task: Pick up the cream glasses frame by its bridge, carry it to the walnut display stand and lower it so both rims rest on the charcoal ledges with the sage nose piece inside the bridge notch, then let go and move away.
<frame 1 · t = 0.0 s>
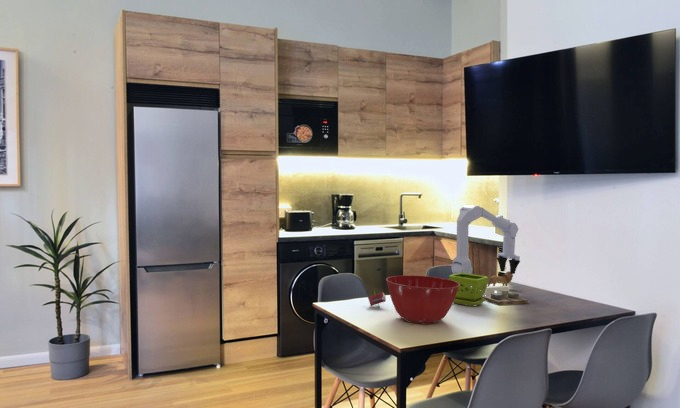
hand: (507, 272, 281), 10 cm above the table, tool pointing down, fingers open, 7 cm apart
display stand: (504, 301, 258), on the table
flower pot: (467, 304, 250), on the table
mixing bowl: (420, 320, 216), on the table
geometric puzzle: (376, 306, 237), on the table
lion figurine: (499, 288, 292), on the table
glasses frame: (495, 294, 273), on the table
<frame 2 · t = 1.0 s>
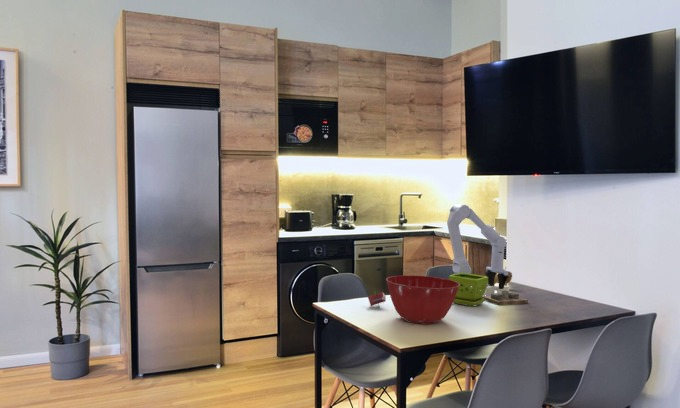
hand: (496, 287, 273), 4 cm above the table, tool pointing down, fingers open, 7 cm apart
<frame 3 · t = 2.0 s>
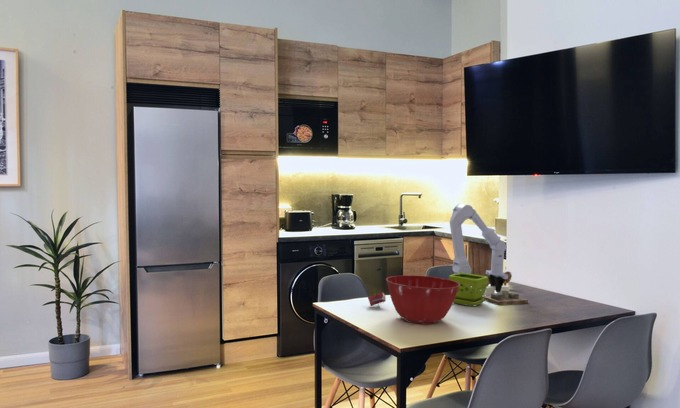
hand: (495, 291, 273), 2 cm above the table, tool pointing down, fingers closed on glasses frame, 3 cm apart
glasses frame: (495, 294, 273), on the table, touching gripper
everything else where it was.
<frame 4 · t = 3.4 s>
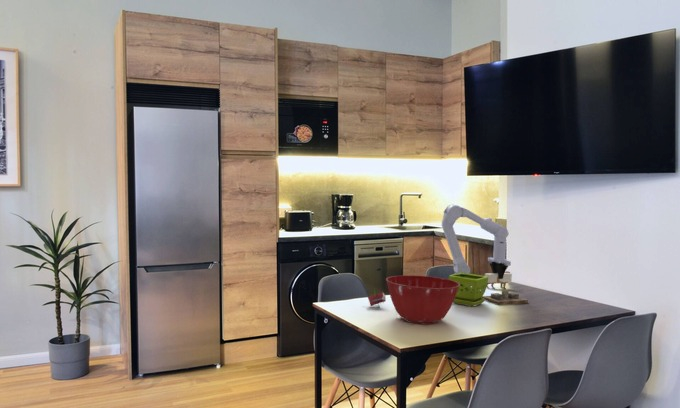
hand: (498, 278, 270), 9 cm above the table, tool pointing down, fingers closed on glasses frame, 3 cm apart
glasses frame: (497, 281, 270), point 7 cm above the table, touching gripper
when the fingers open (6 cm above the table, at t = 4.9 s): glasses frame stays where it is, resting on display stand.
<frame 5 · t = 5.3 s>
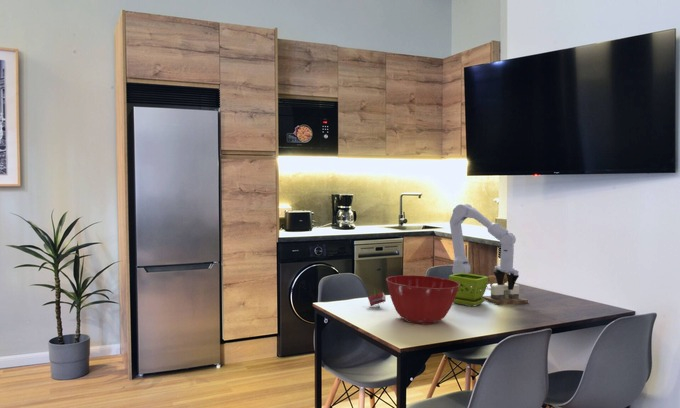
hand: (505, 288, 258), 6 cm above the table, tool pointing down, fingers open, 7 cm apart
glasses frame: (504, 293, 258), point 3 cm above the table, touching display stand
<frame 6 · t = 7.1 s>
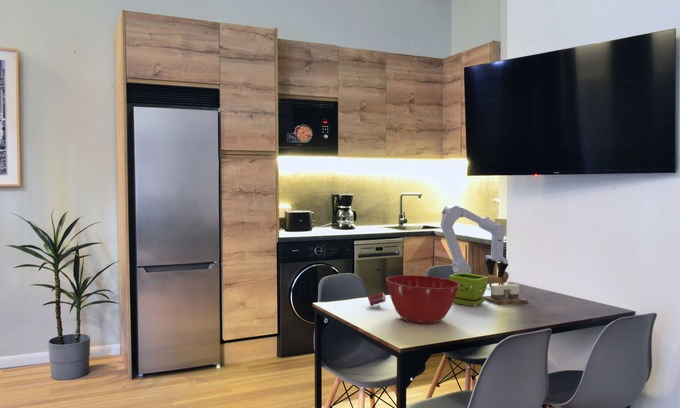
hand: (495, 275, 272), 9 cm above the table, tool pointing down, fingers open, 7 cm apart
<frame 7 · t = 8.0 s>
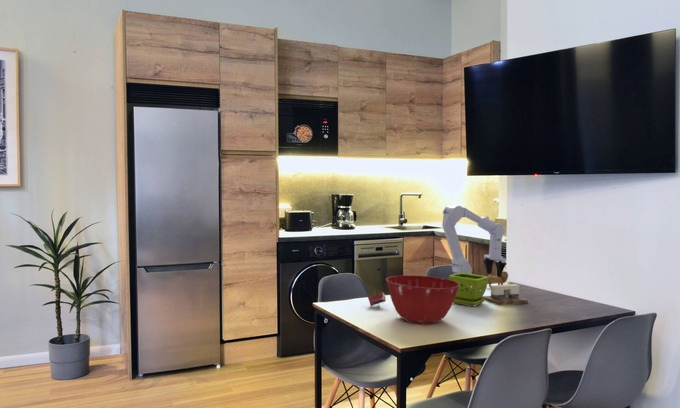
hand: (494, 275, 275), 9 cm above the table, tool pointing down, fingers open, 7 cm apart
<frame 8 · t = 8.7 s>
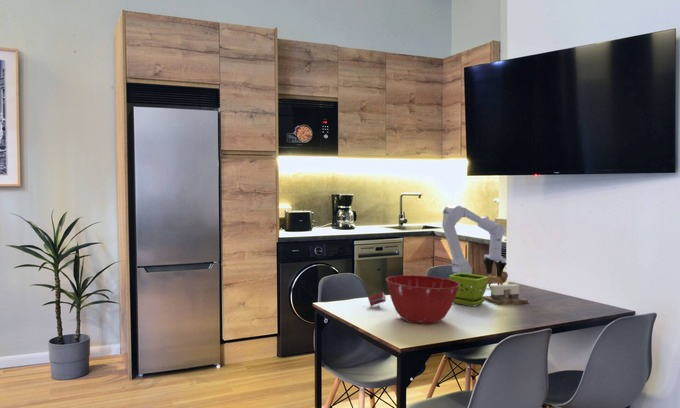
hand: (494, 275, 275), 9 cm above the table, tool pointing down, fingers open, 7 cm apart
at the end: glasses frame 0.1 cm off-centre on the display stand, point 3.5 cm above the display stand's base; glasses frame tilted 0°; the gripper is holding nothing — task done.
